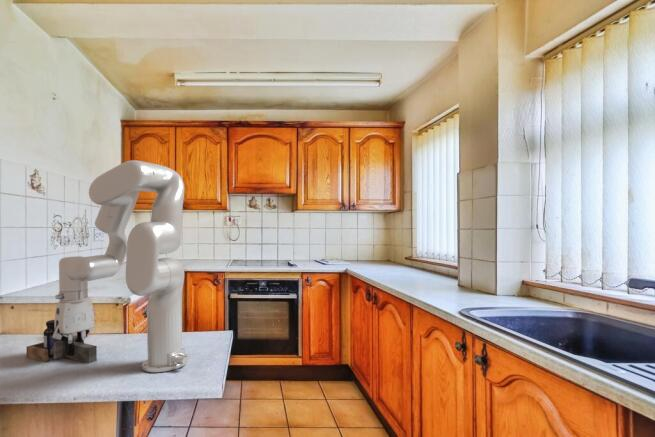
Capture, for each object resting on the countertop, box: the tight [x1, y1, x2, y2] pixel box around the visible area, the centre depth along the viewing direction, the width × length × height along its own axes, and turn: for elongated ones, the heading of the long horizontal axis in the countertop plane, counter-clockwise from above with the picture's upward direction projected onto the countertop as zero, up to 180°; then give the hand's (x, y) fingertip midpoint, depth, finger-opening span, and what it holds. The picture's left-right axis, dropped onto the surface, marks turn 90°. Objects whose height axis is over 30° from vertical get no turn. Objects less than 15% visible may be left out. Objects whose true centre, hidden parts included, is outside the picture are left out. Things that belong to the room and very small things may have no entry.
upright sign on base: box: [53, 335, 98, 364], centre depth 120 cm, size 14×7×5 cm, turn 64°
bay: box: [26, 341, 49, 363], centre depth 125 cm, size 10×12×4 cm
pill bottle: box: [43, 319, 63, 358], centre depth 125 cm, size 6×6×11 cm
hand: (74, 353), depth 121 cm, fingers closed on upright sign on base
